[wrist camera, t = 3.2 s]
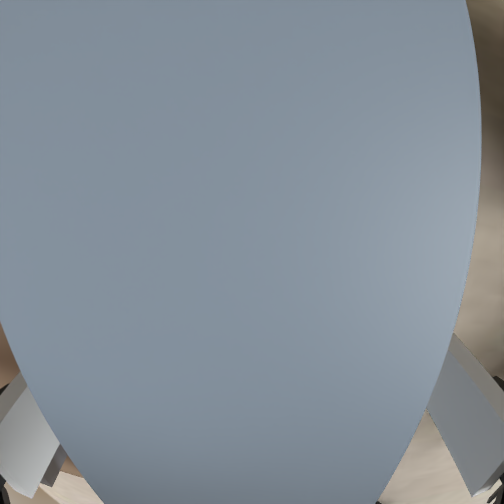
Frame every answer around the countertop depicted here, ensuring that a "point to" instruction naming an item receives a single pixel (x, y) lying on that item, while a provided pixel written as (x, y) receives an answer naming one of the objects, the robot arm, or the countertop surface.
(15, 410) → the robot arm
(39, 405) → the door panel
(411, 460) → the countertop surface
